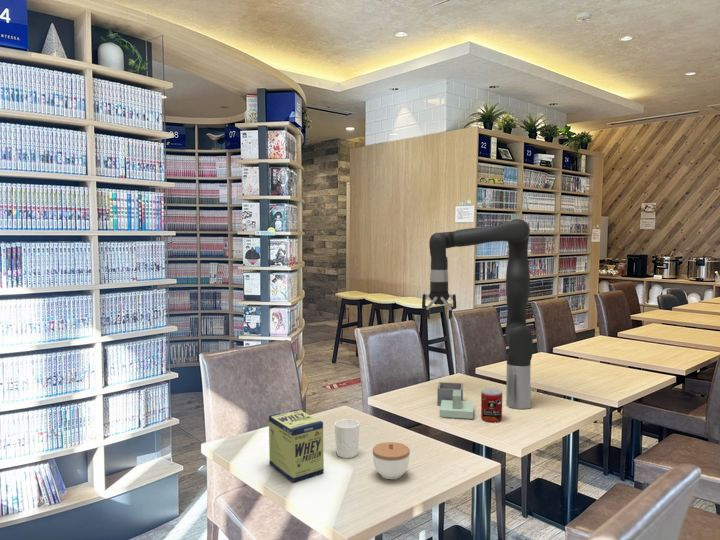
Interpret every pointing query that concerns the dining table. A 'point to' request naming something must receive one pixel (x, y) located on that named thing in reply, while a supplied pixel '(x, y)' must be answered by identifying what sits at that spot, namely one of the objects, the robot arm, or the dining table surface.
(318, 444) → the protein box
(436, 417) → the dining table surface
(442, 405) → the lid
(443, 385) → the tub
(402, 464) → the lidded jar
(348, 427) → the white cup
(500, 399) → the canned food
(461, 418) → the mat
